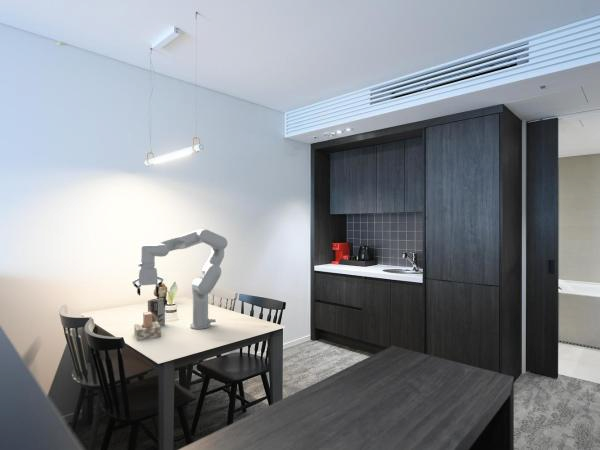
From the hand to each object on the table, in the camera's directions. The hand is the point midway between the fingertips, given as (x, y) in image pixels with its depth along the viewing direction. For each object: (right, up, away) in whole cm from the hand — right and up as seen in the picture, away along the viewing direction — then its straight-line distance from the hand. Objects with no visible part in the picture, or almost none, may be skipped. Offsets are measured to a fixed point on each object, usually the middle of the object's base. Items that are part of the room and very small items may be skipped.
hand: (148, 294), depth 217 cm
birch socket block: (0, -24, 0) cm, 24 cm away
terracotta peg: (0, -23, 0) cm, 23 cm away
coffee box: (-3, -24, +21) cm, 32 cm away
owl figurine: (-24, -23, +81) cm, 88 cm away
